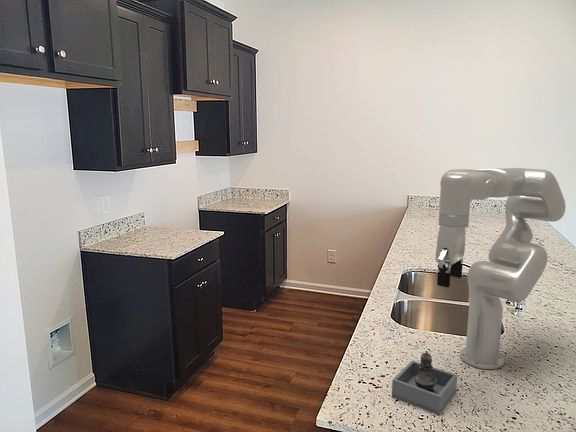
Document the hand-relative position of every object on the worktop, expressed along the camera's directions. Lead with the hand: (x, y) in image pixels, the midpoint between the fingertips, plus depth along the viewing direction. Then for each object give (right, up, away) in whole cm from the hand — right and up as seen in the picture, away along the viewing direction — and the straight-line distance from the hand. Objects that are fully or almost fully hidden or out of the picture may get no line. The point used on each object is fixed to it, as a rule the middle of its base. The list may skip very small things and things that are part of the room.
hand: (449, 281), depth 123 cm
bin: (-7, -31, 0) cm, 32 cm away
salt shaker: (-7, -30, 0) cm, 31 cm away
